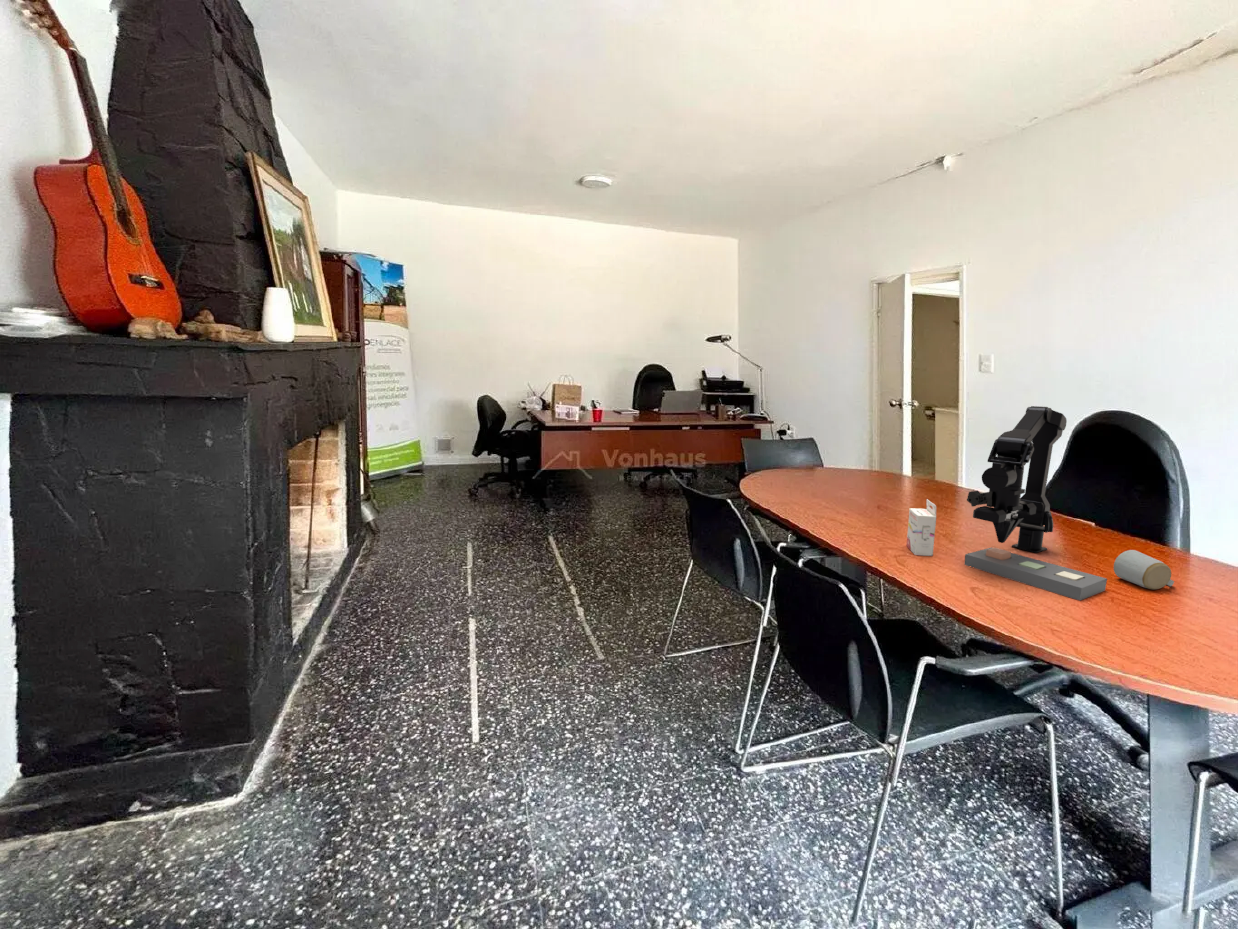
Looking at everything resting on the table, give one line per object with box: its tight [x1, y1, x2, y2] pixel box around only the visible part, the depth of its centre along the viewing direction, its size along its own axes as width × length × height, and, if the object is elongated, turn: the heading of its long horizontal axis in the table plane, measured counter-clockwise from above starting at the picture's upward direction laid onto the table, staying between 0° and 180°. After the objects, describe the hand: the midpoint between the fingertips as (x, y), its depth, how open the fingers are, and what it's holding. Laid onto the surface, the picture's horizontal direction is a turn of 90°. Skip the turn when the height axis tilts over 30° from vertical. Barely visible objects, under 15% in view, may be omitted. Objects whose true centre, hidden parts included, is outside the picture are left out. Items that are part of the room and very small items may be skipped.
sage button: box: [1019, 561, 1045, 570], centre depth 139 cm, size 4×4×2 cm
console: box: [963, 547, 1108, 601], centre depth 139 cm, size 12×26×3 cm, turn 27°
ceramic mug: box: [1113, 549, 1175, 591], centre depth 134 cm, size 11×8×8 cm
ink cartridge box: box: [906, 498, 937, 557], centre depth 158 cm, size 9×5×15 cm, turn 168°
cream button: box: [1055, 571, 1084, 581], centre depth 132 cm, size 4×4×2 cm
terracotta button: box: [986, 547, 1012, 560], centre depth 146 cm, size 4×4×2 cm
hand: (1001, 542), depth 145 cm, fingers closed
